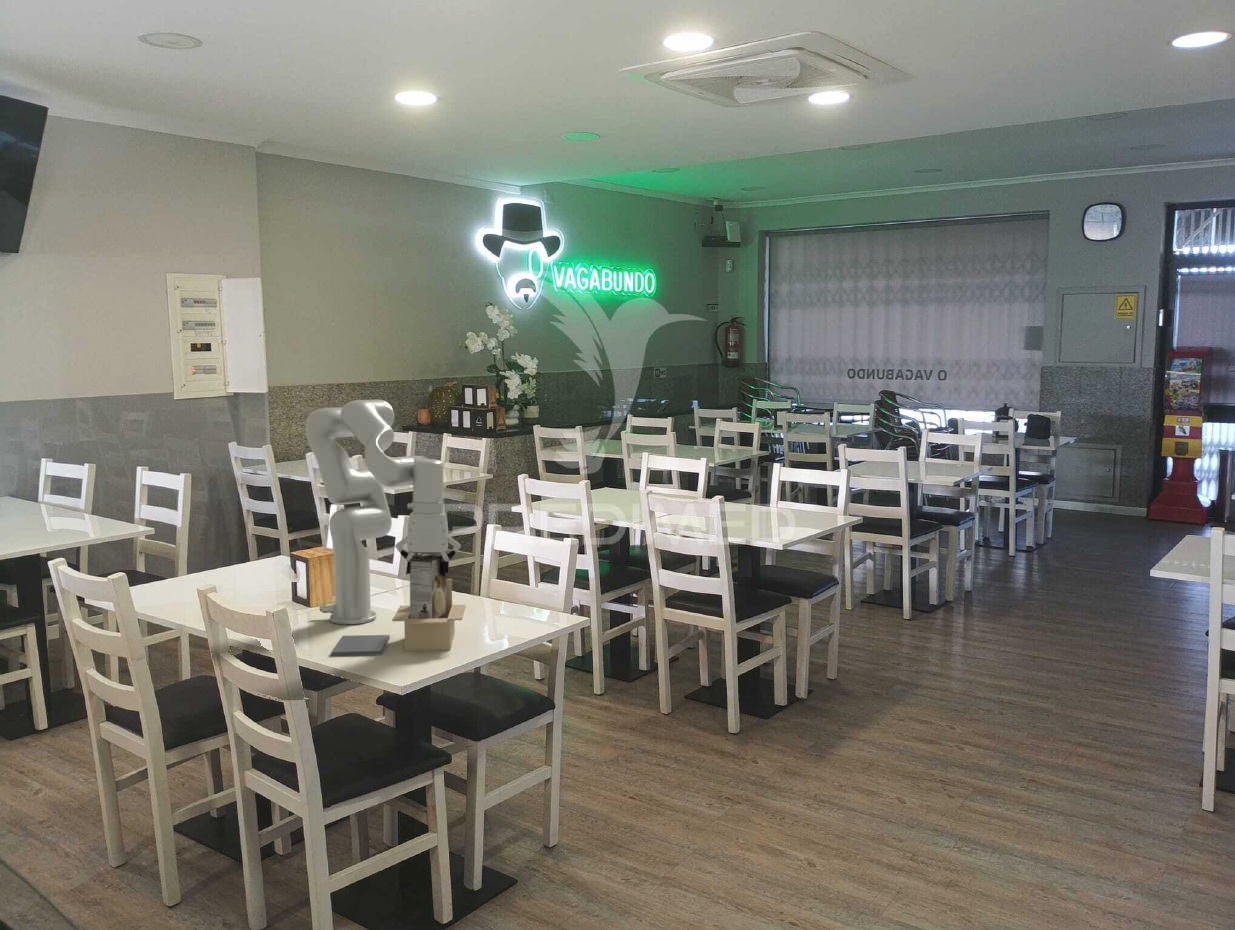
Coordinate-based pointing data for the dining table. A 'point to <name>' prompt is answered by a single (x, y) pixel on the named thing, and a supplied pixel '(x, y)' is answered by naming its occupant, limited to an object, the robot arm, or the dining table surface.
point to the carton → (431, 626)
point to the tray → (360, 645)
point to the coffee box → (427, 586)
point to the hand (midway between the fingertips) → (428, 575)
